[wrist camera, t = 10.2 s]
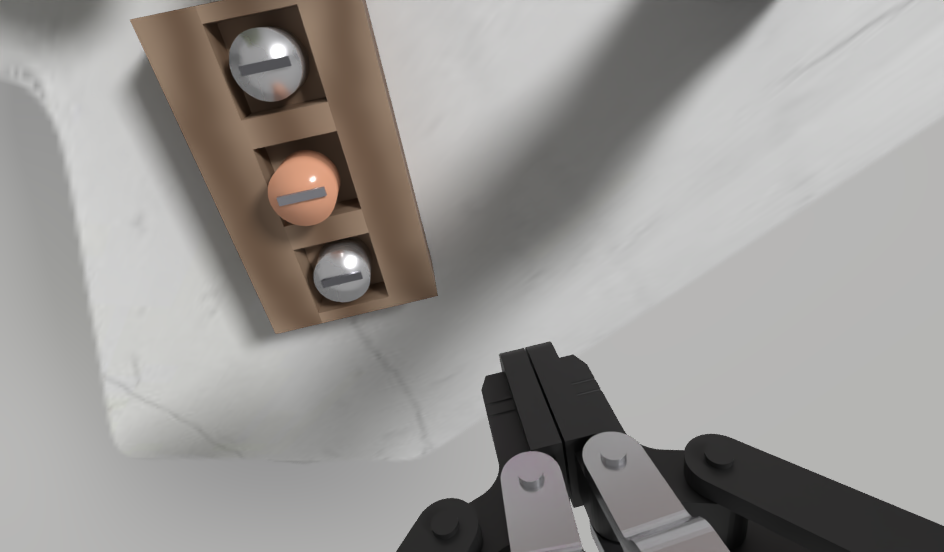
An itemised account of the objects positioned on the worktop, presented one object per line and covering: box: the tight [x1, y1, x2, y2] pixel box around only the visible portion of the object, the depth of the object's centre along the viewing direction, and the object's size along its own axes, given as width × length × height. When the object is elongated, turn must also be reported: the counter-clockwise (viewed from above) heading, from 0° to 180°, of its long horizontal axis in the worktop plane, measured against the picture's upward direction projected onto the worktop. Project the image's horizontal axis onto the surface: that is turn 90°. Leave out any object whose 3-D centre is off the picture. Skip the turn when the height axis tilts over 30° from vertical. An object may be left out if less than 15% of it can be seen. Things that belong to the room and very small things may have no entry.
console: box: [130, 0, 438, 334], centre depth 39 cm, size 14×24×6 cm, turn 11°
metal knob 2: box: [314, 237, 372, 302], centre depth 41 cm, size 4×4×4 cm
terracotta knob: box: [268, 150, 341, 226], centre depth 35 cm, size 4×4×4 cm
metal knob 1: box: [229, 26, 309, 102], centre depth 34 cm, size 4×4×4 cm
